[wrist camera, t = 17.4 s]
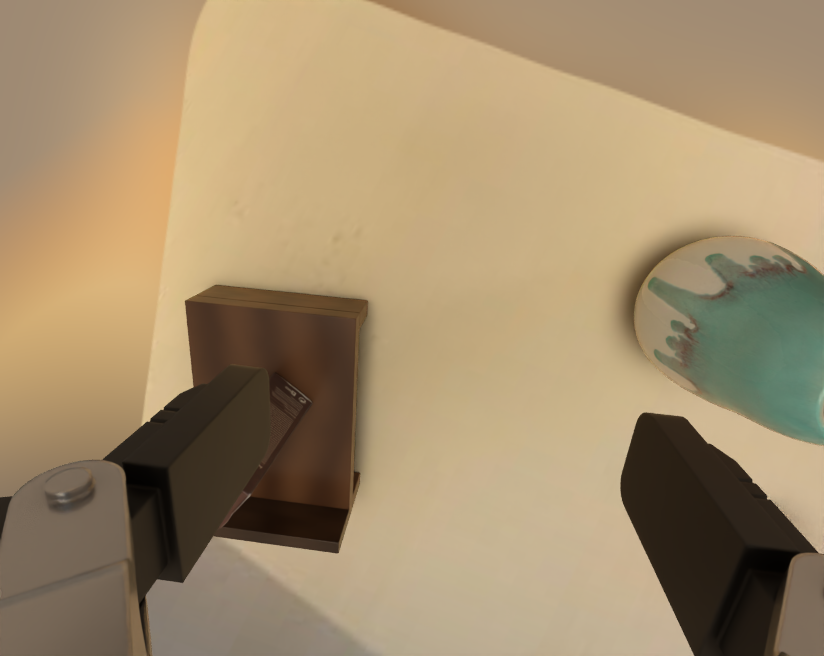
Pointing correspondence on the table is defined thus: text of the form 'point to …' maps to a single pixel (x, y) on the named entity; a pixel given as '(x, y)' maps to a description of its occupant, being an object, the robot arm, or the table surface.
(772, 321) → the vase
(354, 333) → the rack
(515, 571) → the table surface
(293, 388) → the box
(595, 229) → the table surface
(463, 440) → the table surface
